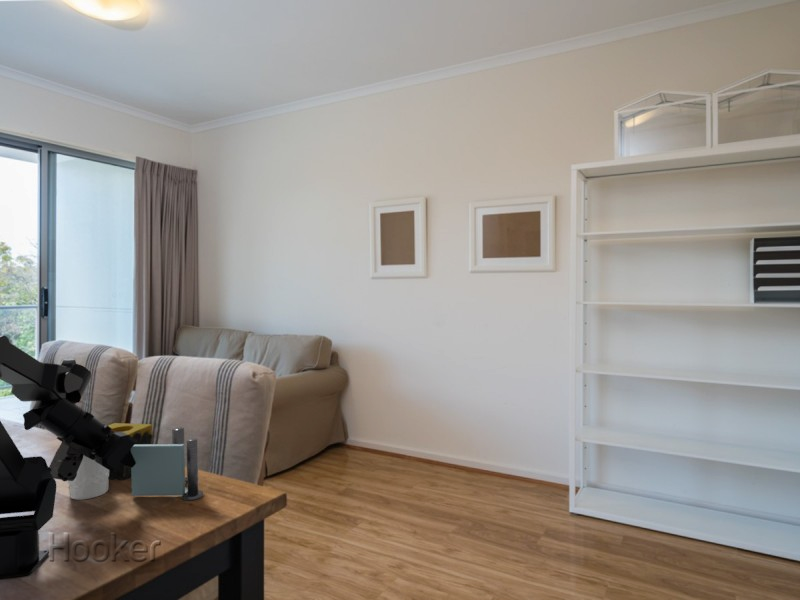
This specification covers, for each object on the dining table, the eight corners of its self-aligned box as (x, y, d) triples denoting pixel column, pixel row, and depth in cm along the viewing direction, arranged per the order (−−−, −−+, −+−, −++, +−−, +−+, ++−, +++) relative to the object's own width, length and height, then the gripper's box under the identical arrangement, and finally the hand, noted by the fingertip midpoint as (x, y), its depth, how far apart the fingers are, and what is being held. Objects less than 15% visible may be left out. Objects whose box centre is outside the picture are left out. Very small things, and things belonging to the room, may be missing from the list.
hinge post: (201, 499, 99) (200, 442, 99) (180, 501, 98) (179, 443, 98) (205, 491, 103) (204, 436, 103) (184, 493, 102) (183, 437, 102)
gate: (185, 492, 101) (184, 444, 101) (182, 495, 100) (181, 445, 100) (134, 493, 101) (133, 444, 101) (131, 495, 100) (130, 446, 100)
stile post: (185, 483, 108) (184, 430, 107) (169, 484, 107) (168, 431, 107) (188, 478, 111) (187, 426, 110) (172, 479, 110) (172, 427, 110)
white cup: (90, 502, 98) (89, 452, 98) (56, 499, 100) (55, 450, 100) (120, 487, 106) (119, 440, 106) (88, 484, 108) (87, 438, 107)
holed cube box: (82, 479, 111) (81, 434, 110) (114, 463, 121) (114, 422, 120) (124, 481, 109) (123, 436, 109) (153, 465, 119) (152, 423, 119)
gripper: (15, 450, 92) (84, 490, 100) (48, 473, 80) (123, 517, 89) (64, 399, 98) (125, 442, 106) (101, 415, 86) (166, 461, 94)
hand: (133, 465), depth 99 cm, fingers closed
